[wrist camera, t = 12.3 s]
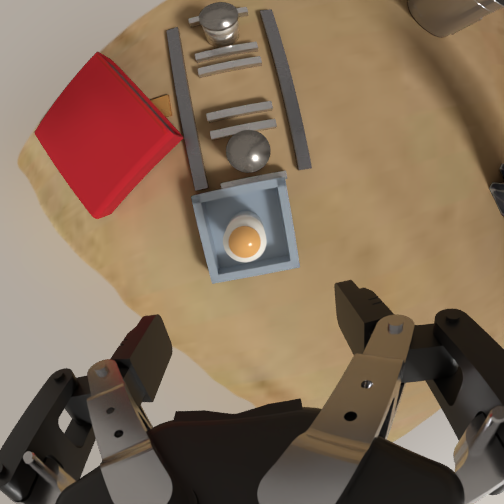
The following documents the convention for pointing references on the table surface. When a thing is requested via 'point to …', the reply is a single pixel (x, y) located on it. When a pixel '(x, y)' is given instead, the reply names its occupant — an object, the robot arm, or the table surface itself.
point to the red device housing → (104, 135)
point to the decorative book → (499, 192)
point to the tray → (274, 221)
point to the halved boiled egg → (245, 237)
